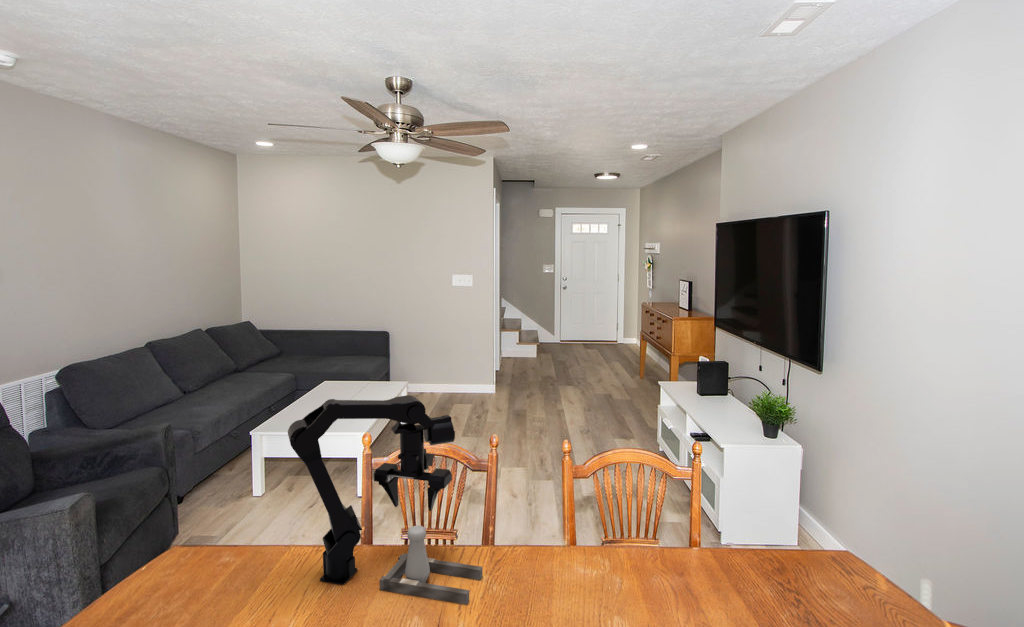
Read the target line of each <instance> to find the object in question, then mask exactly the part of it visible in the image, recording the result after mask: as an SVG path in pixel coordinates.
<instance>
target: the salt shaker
mask: <svg viewBox="0 0 1024 627" xmlns="http://www.w3.org/2000/svg"><path fill="white" fill-rule="evenodd" d="M406 536H407V539H408V541H409V542H408V543H409V545H408V548H407V549H408V550H407V554H408V555H407V561H406V568H405V573H404V575H405V579H410V580H416V581H419V582H422V583H427V580H428V578H429V576H430V573H431V572H430V567H429V562H428V558H429V557H428V552H427V548H426V544H425V539H426V537H427V531H426V528H425V527H424V526H423V525H413V526H411V527H408V530H407V533H406Z"/></svg>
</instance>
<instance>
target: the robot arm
mask: <svg viewBox="0 0 1024 627" xmlns="http://www.w3.org/2000/svg"><path fill="white" fill-rule="evenodd" d="M426 412H427V411H426V406H425V404H424V403H423V402H421V401H420V400H419V398H417V397H416V396H415V395H410V394H408V395H402V396H401V395H400V396H394V397H393V398H390V399H389V398H388V399H384V400H383V399H382V400H364V399H362V400H359V399H353V400H352V399H350V400H349V399H334V398H329V399H327V400H326V401H324V402H323V403H322V404H321V405H320V406H319V407H317V408H315V409H314V410H312V411H310V412H309V413H308V414H306V415H305V416H304V417H303V418H301V419H298V420H296V421H295V420H294V422H292V423H291V424H290V426H289V427H288V429H287V436H288V439H289V444H290V446H291V448H292V449H293V451H294V452H295V454H296V455H297V456H298V458H299V459H300V460H301V461H302V463H303V464H304V465H305V466H306V468H307V470H308V472H309V474H310V476H311V479H312V481H313V483H314V485H315V487H316V490H317V492H318V494H319V496H320V499H321V501H322V503H323V505H324V507H325V510H326V512H327V514H328V515H327V516H328V520H329V524H330V529H329V530H328V531H327V532H326V533H325V535H324V536H323V537H322V542H323V546H324V549H325V550H324V551H323V552H322V567H323V575H322V576H321V577H320V578H319V582H321V583H322V582H324V583H328V584H334V585H340V586H344V585H346V583H348V581H350V579H351V578H352V577H353V576H354V575H355V574H356V573H357V572H358V567H356V558H355V555H354V549H355V547H356V546H357V545H358V543H360V541H361V538H362V536H361V531H363V528H362V525H361V523H360V521H359V519H358V517H357V515H356V512H355V510H354V508H353V506H352V505H349V506H348V507H346V506H345V505H344V503H343V502H342V500H341V498H340V496H339V494H338V491H337V489H336V487H335V485H334V482H333V480H332V478H331V476H330V474H329V471H328V469H327V466H326V465H325V462H324V460H323V457H322V452H321V446H320V442H319V439H320V438H322V436H324V434H325V433H326V432H327V431H328V430H329V429H330V427H331V426H332V425H333V424H334V423H335V422H336V421H337V420H362V419H363V420H369V419H370V420H373V419H374V420H376V419H378V420H379V419H380V420H381V419H383V420H385V419H386V420H391V421H395V424H394V425H393V426H391V428H390V430H391V431H392V432H393V434H394V435H399V448H400V450H399V453H398V454H397V459H398V460H400V469H399V465H398V464H397V463H390V462H389V463H388V462H383V463H382V464H381V465H379V467H377V468H376V469H374V472H373V475H372V477H373V481H374V482H377V483H378V486H381V487H382V488H383V490H384V491H385V493H386V494H387V495H388V497H389V499H390V501H391V502H392V504H393V506H394V507H395V508H397V507H398V506H399V488H398V487H399V486H398V483H399V482H398V481H399V478H400V479H406V480H407V479H409V480H417V481H423V482H424V481H427V485H428V486H429V487H428V488H427V506H428V507H427V508H428V512H432V511H433V509H434V505H435V502H436V499H437V496H438V493H439V492H440V491H441V490H444V489H446V487H447V486H448V485H449V484H451V482H452V481H453V474H452V471H451V470H450V469H445V468H438V467H437V468H436V469H434V470H433V471H432V472H426V471H427V470H428V469H429V467H433V464H434V456H435V454H434V453H431V452H430V453H428V452H427V449H426V448H425V446H424V445H425V444H424V442H426V443H427V442H428V443H429V445H430V446H436V445H443V444H448V443H450V444H451V443H454V442H455V439H456V431H455V428H454V425H453V422H452V417H451V416H450V414H445V415H442V416H436V417H430V416H429V415H428V414H427V413H426ZM425 470H426V471H425Z"/></svg>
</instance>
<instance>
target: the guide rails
mask: <svg viewBox="0 0 1024 627" xmlns="http://www.w3.org/2000/svg"><path fill="white" fill-rule="evenodd" d="M407 555H408V552H407V553H406V552H404V553H403V554H400V555H399V556H398V557H397V560H398V561H397V562H396V563H395V564H394V565H393V566H392V568H390V570H389V571H388V572H387V573H386V575H385V576H384V575H382V576H381V577H380V579H379V580H378V581H379V591H382V592H383V591H384V592H389V593H395V594H400V595H401V594H402V595H407V596H413V597H417V598H418V597H419V598H424V599H425V598H426V599H431V600H437V601H441V602H442V601H443V602H449V603H452V604H453V603H454V604H460V605H468V603H469V602H470V590H469V589H466V588H465V589H464V588H459V587H452V586H446V585H439V584H434V583H427V582H426V583H422V582H419V581H416V580H410V579H407V578H402V577H403V576H404V575H405V568H406V561H407ZM428 562H429V567H430V573H431V572H432V573H431V574H437V573H438V574H439V575H444V576H452V577H458V578H464V579H470V580H476V581H481V580H482V578H483V566H480V565H473V564H467V563H459V562H453V561H446V560H439V559H436V558H433V557H428Z"/></svg>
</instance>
